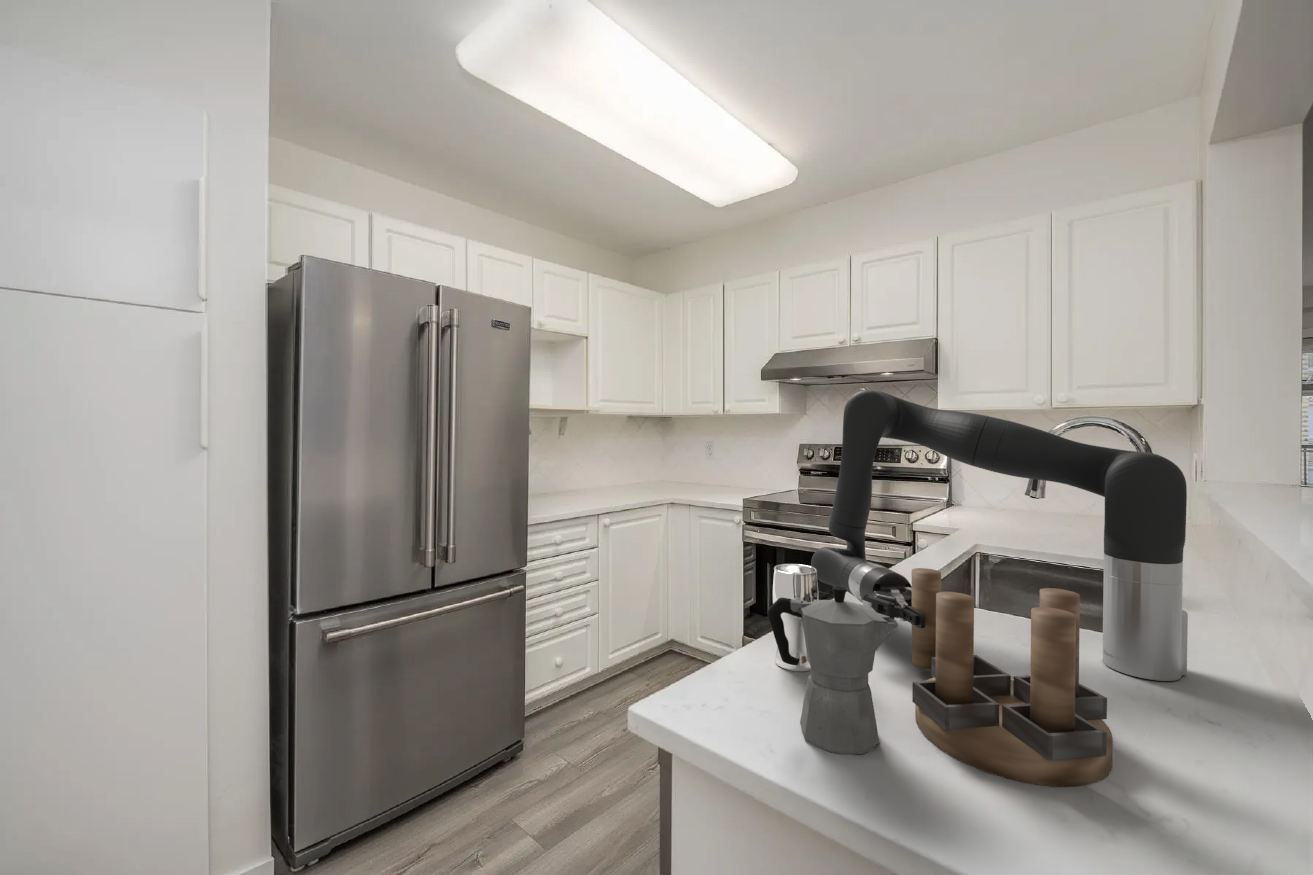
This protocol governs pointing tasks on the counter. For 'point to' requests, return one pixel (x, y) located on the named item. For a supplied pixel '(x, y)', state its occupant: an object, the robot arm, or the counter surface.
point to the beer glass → (799, 586)
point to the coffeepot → (836, 669)
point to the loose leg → (924, 600)
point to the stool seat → (1016, 699)
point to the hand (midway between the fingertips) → (937, 620)
